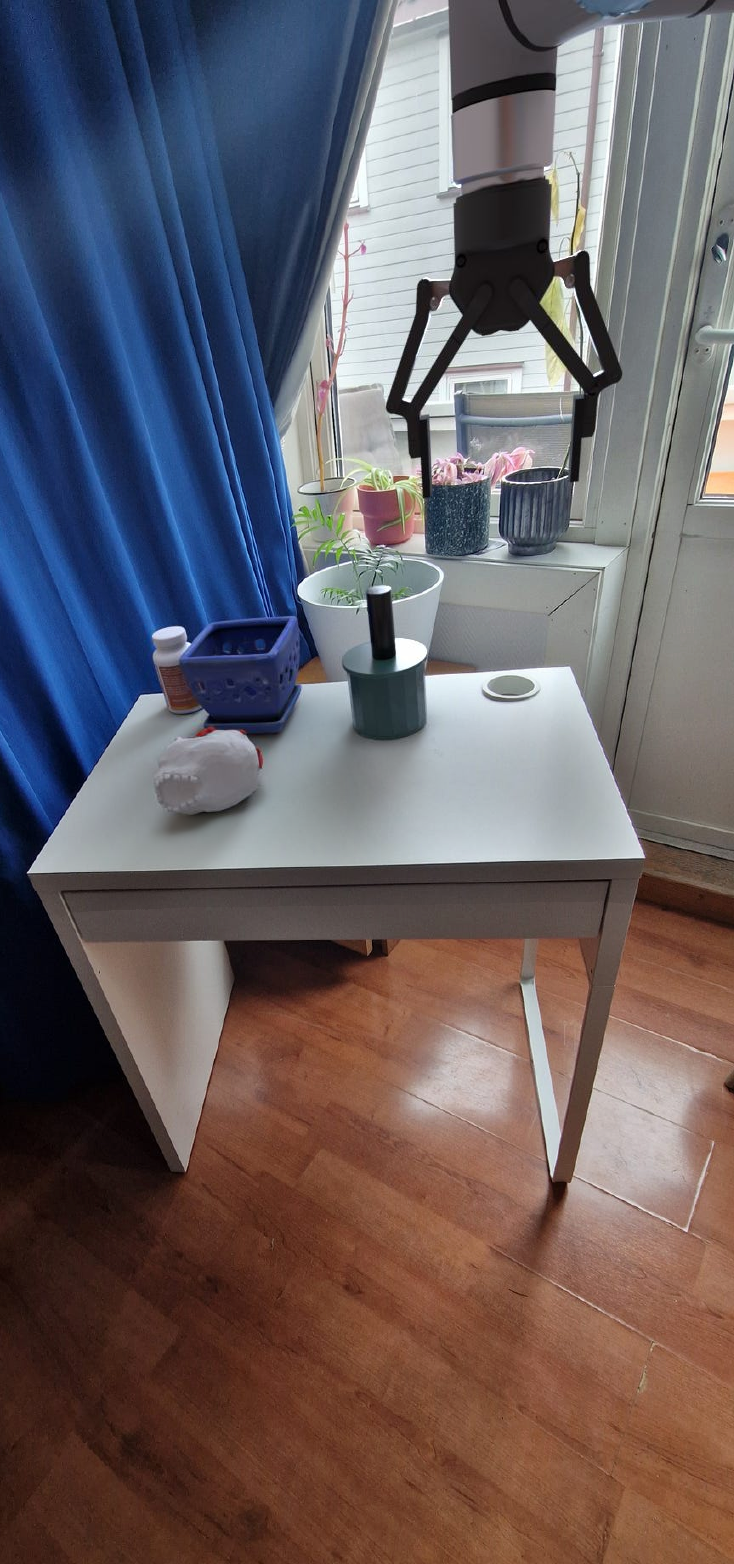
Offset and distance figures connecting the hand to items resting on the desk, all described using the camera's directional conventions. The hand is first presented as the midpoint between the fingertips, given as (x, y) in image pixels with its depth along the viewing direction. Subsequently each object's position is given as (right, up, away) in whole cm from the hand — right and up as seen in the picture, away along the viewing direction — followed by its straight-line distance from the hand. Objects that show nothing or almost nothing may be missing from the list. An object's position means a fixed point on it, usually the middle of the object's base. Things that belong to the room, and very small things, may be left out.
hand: (498, 487), depth 70 cm
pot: (-8, -17, +26) cm, 32 cm away
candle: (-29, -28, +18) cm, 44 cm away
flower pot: (-26, -15, +32) cm, 44 cm away
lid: (-9, -10, +21) cm, 25 cm away
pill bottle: (-37, -12, +39) cm, 55 cm away
